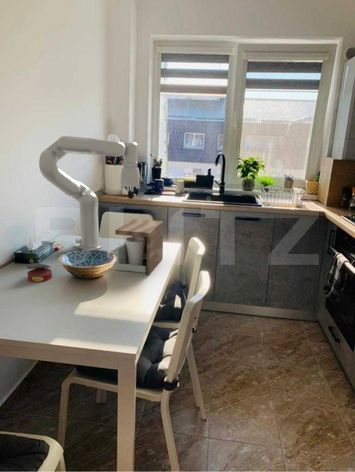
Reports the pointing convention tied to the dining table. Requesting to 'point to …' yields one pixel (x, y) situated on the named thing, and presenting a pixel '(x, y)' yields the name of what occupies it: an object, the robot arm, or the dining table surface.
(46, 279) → the canned food
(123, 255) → the pull out rack
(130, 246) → the foam cup
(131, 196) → the robot arm
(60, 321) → the dining table surface
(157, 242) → the counter shelf
